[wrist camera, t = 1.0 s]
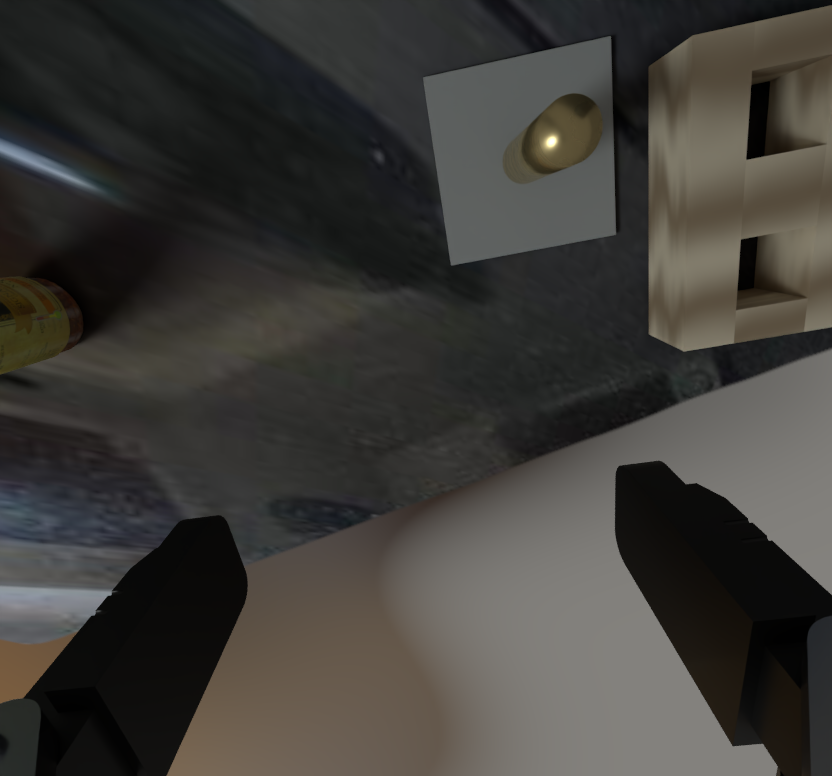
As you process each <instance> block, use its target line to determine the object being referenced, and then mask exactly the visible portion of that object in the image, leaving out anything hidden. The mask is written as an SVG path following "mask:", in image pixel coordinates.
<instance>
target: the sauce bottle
mask: <svg viewBox="0 0 832 776" xmlns="http://www.w3.org/2000/svg"><path fill="white" fill-rule="evenodd" d="M83 324H84V323H83V316H82V312H81V310H80V308H79V305H77V303H76V302H75V300H74V299H73V298H72V297H71V296H70V295H69V294H68V293H67V292H66V291H65V290H64V289H63V288H61V287H60V286H58V285H57V284H56V283H54V282H50V281H48V280H46V279H40V278H24V277H7V278H0V374H3V373H6V372H9V371H12V370H16V369H19V368H22V367H25V366H28V365H31V364H34V363H37V362H40V361H43V360H46V359H49V358H52V357H55V356H56V355H58V354H59V353H61V352H63V351H66V350H69V349H71V348H72V347H74V346H75V345H76V344H77V342H78V341H79V340H80V339H81V335H82V333H83Z"/></svg>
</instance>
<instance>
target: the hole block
mask: <svg viewBox="0 0 832 776" xmlns="http://www.w3.org/2000/svg"><path fill="white" fill-rule="evenodd" d="M768 81H770V90H769V103H768V115H767V128H766V140H765V153H764V157H759V158H754V159H749V160H746V155H747V140H748V125H749V110H750V95H751V85H753V84H758V83H763V82H768ZM757 236H758V241H757V254H756V266H755V279H754V288H751V289H745V290H739V291H737V289H738V274H739V259H740V244H741V239H746V238H751V237H757ZM829 327H832V5H830V6H826V7H821V8H817V9H812V10H807V11H803V12H798V13H794V14H789V15H784V16H780V17H775V18H771V19H766V20H761V21H757V22H752V23H748V24H743V25H738V26H734V27H729V28H725V29H720V30H715V31H711V32H706V33H702V34H697V35H693V36H691V37H690V38H689V39H687V40H686V41H684V42H683V43H681V44H680V45H679V46H677V47H676V48H674V49H673V50H672V51H670V52H669V53H667V54H666V55H664V56H663V57H662V58H660V59H659V60H657V61H656V62H655V63H653V64H652V65H650V66H649V335H651V336H653V337H655V338H657V339H660V340H662V341H664V342H666V343H668V344H670V345H672V346H674V347H676V348H678V349H680V350H682V351H690V350H696V349H702V348H708V347H714V346H720V345H726V344H732V343H738V342H744V341H750V340H756V339H762V338H769V337H775V336H781V335H787V334H793V333H799V332H805V331H811V330H817V329H823V328H829Z"/></svg>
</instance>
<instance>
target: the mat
mask: <svg viewBox="0 0 832 776" xmlns="http://www.w3.org/2000/svg"><path fill="white" fill-rule="evenodd" d="M423 82H424V88H425V95H426V102H427V108H428V115H429V122H430V128H431V135H432V142H433V148H434V155H435V162H436V168H437V175H438V182H439V188H440V195H441V202H442V208H443V215H444V221H445V228H446V235H447V241H448V248H449V255H450V261H451V265H456V264H461V263H467V262H472V261H477V260H483V259H488V258H494V257H499V256H504V255H510V254H515V253H520V252H526V251H531V250H536V249H542V248H547V247H552V246H558V245H563V244H569V243H574V242H579V241H585V240H590V239H595V238H601V237H606V236H611V235H616V216H615V177H614V137H613V97H612V58H611V36H609V37H604V38H600V39H595V40H591V41H586V42H582V43H577V44H573V45H568V46H563V47H559V48H554V49H550V50H545V51H541V52H536V53H532V54H527V55H523V56H518V57H514V58H509V59H505V60H500V61H495V62H491V63H486V64H482V65H477V66H473V67H468V68H464V69H459V70H455V71H450V72H446V73H441V74H437V75H432V76H428V77H423ZM572 93H578V94H582V95H585V96H587V97H589V98H590V99H592V100H593V101H594V102H595V103H596V105H597V106H598V108H599V110H600V112H601V115H602V121H603V130H602V135H601V139H600V141H599V144H598V145H597V147H596V149H595V150H594V152H593V153H592V154H591V155H590V156H589V157H588V158H587V159H585V160H584V161H582V162H580V163H578V164H575V165H573V166H571V167H568V168H566V169H563V170H561V171H558V172H556V173H553V174H551V175H548V176H546V177H543V178H541V179H538V180H536V181H533V182H531V183H528V184H518V183H515V182H513V181H512V180H510V179H509V178H508V177H507V175H506V174H505V171H504V168H503V155H504V152H505V150H506V148H507V146H508V145H509V143H510V142H511V141H512V140H514V139H515V138H516V137H517V136H518V135H519V134H520V133H521V132H522V131H523V130H524V129H525V128H526V127H527V126H528V125H529V124H530V123H531V122H532V121H533V120H535V119H536V118H537V117H538V116H539V115H540V114H541V113H542V112H543V111H544V110H545V109H546V108H547V107H548V106H549V105H550V104H551V103H552V102H554V101H555V100H556V99H558V98H559V97H561V96H564V95H567V94H572Z"/></svg>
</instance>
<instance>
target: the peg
mask: <svg viewBox="0 0 832 776" xmlns="http://www.w3.org/2000/svg"><path fill="white" fill-rule="evenodd" d="M602 130H603V121H602V115H601V112H600V110H599V108H598V106H597V105H596V103H595V102H594V101H593V100H592V99H590V98H589V97H587V96H585V95H582V94H578V93H572V94H567V95H564V96H561V97H559V98H558V99H556V100H555V101H554V102H552V103H551V104H550V105H549V106H548V107H547V108H546V109H545V110H544V111H543V112H542V113H541V114H540V115H539V116H538V117H537V118H536V119H535V120H533V121H532V122H531V123H530V124H529V125H528V126H527V127H526V128H525V129H524V130H523V131H522V132H521V133H520V134H519V135H518V136H517V137H516V138H515V139H514V140H512V141H511V142H510V143H509V145H508V146H507V148H506V150H505V152H504V155H503V168H504V171H505V174H506V175H507V177H508V178H509V179H510V180H512V181H513V182H515V183H518V184H528V183H531V182H533V181H536V180H538V179H541V178H543V177H546V176H548V175H551V174H553V173H556V172H558V171H561V170H563V169H566V168H568V167H571V166H573V165H575V164H578V163H580V162H582V161H584V160H585V159H587V158H588V157H589V156H590V155H591V154H592V153H593V152H594V150H595V149H596V147H597V145H598V144H599V141H600V139H601V135H602Z"/></svg>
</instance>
